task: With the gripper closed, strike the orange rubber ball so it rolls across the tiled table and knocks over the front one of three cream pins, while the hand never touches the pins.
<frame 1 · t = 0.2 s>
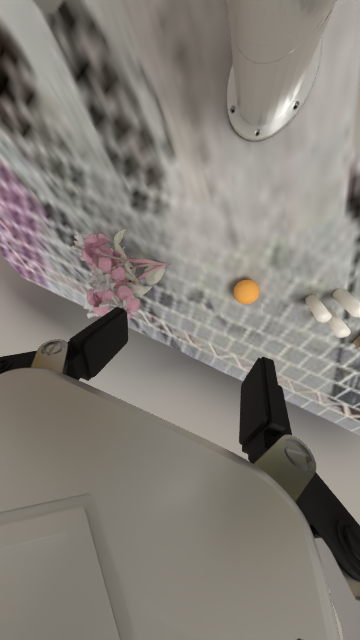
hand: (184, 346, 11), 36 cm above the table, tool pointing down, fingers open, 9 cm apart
ball: (246, 291, 41), on the table
pin 2: (339, 293, 37), on the table
pin 1: (326, 312, 40), on the table
flower: (136, 263, 50), on the table
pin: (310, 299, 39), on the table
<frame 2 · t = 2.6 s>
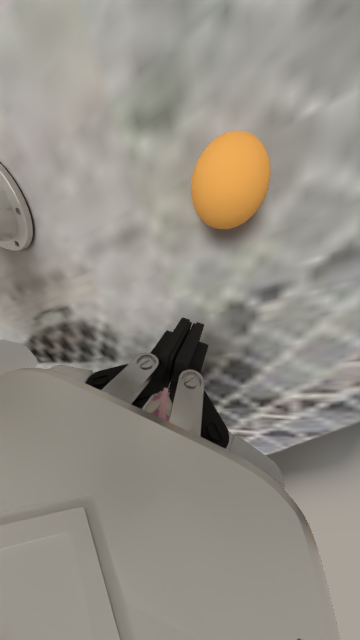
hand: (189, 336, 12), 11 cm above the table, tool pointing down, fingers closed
ball: (228, 187, 13), on the table
flower: (174, 384, 35), on the table
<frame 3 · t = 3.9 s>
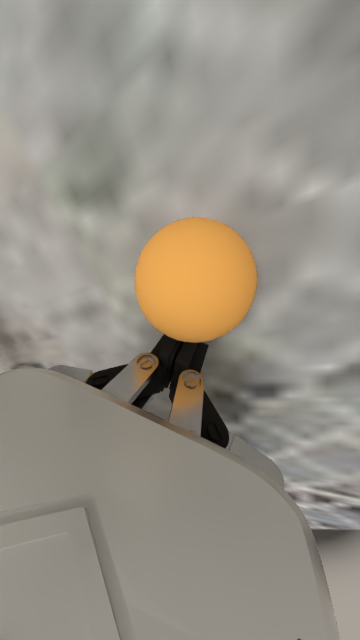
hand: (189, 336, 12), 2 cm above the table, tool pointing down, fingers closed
ball: (193, 284, 9), on the table
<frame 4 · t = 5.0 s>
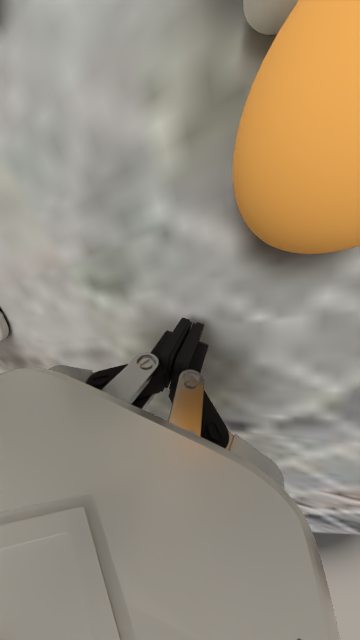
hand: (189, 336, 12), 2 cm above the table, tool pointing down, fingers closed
ball: (340, 143, 5), on the table
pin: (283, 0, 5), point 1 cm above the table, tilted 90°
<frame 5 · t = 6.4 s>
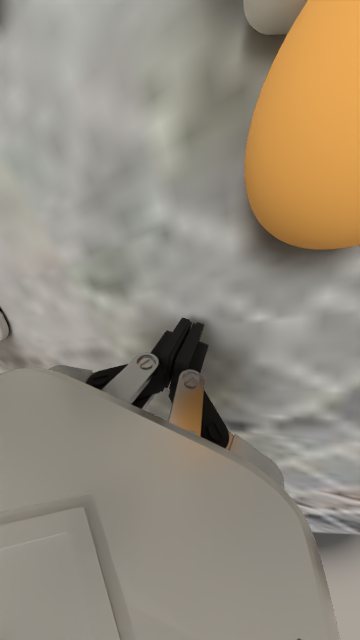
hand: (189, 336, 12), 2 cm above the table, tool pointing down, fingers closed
ball: (359, 132, 5), on the table
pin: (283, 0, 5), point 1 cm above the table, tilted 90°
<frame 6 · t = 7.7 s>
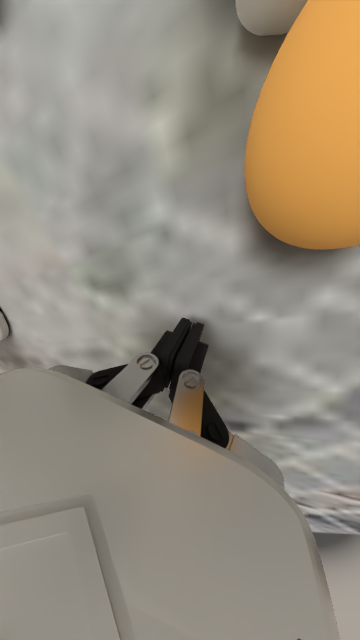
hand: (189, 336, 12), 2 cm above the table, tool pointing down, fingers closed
ball: (359, 132, 5), on the table
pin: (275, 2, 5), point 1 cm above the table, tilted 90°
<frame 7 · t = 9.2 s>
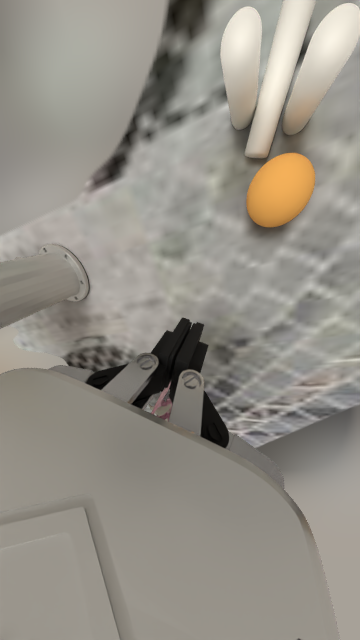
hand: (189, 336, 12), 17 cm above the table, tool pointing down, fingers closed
ball: (277, 194, 17), on the table
pin 2: (243, 112, 17), on the table
pin 1: (296, 117, 16), on the table
flower: (179, 393, 47), on the table
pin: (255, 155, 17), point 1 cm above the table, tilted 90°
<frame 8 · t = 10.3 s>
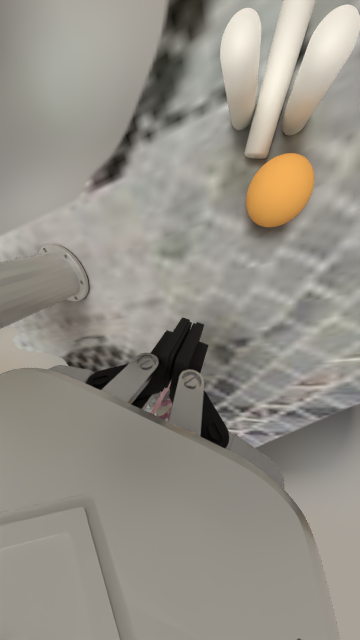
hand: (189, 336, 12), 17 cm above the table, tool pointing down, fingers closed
ball: (277, 194, 17), on the table
pin 2: (242, 113, 17), on the table
pin 1: (295, 117, 16), on the table
flower: (179, 393, 47), on the table
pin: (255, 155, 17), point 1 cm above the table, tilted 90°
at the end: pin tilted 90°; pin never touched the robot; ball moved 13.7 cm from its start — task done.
